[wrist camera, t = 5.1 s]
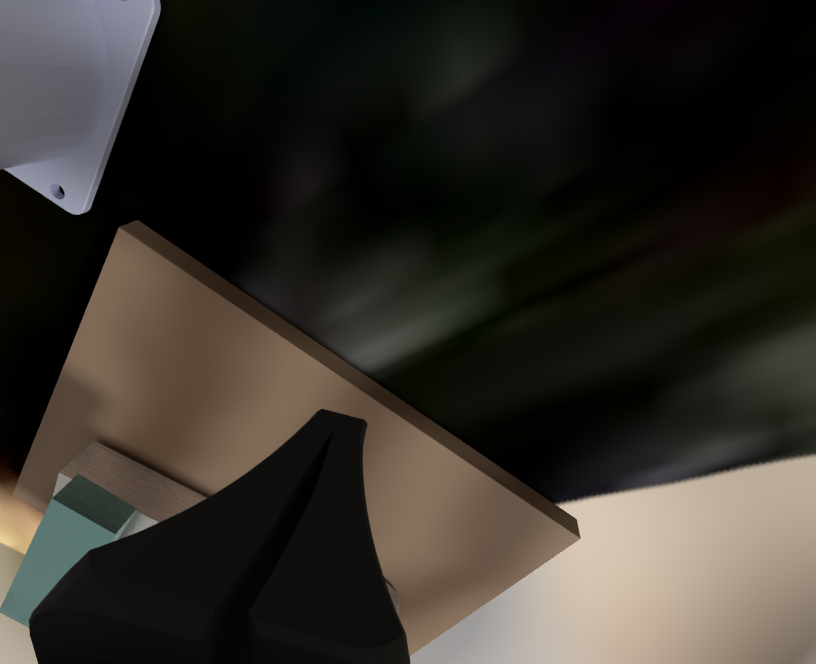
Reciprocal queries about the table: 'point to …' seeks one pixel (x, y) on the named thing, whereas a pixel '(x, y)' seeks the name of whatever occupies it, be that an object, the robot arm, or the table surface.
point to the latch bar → (138, 489)
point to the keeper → (65, 541)
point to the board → (281, 429)
